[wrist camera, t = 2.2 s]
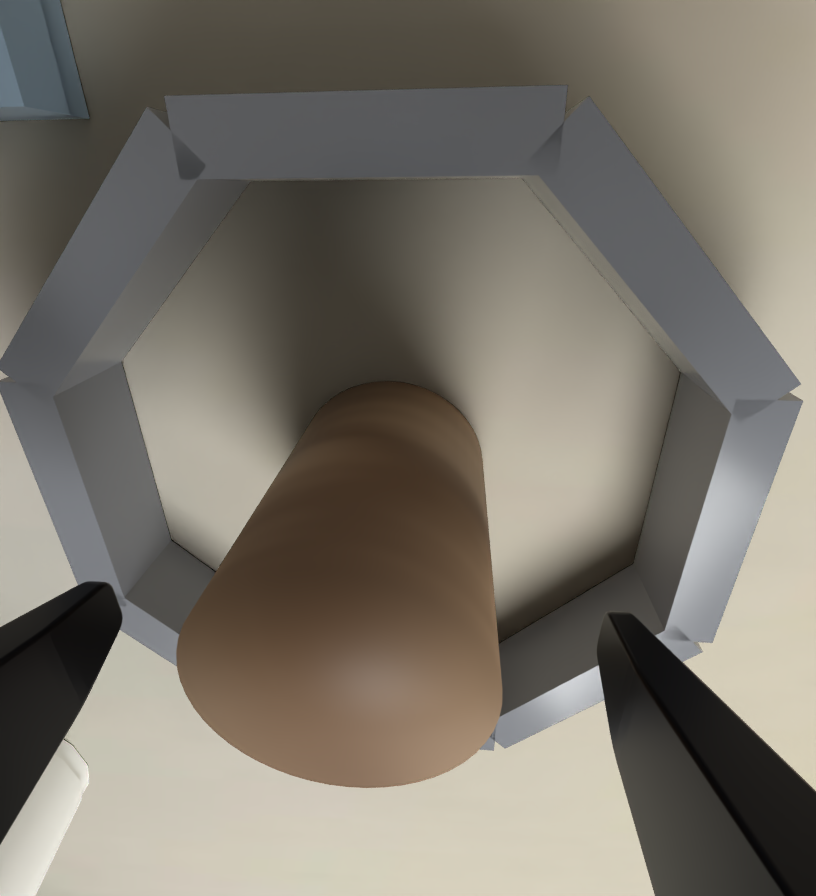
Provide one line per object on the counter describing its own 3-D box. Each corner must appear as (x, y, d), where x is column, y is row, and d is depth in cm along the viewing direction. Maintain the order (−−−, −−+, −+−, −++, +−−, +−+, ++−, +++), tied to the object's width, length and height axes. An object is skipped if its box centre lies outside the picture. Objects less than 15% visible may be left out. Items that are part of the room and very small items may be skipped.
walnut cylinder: (311, 536, 15) (209, 774, 9) (292, 378, 13) (139, 553, 7) (477, 544, 15) (490, 799, 9) (488, 383, 13) (517, 574, 6)
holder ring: (172, 656, 18) (132, 720, 16) (1, 121, 11) (-117, 103, 9) (639, 689, 17) (666, 764, 15) (815, 102, 9) (924, 75, 7)
